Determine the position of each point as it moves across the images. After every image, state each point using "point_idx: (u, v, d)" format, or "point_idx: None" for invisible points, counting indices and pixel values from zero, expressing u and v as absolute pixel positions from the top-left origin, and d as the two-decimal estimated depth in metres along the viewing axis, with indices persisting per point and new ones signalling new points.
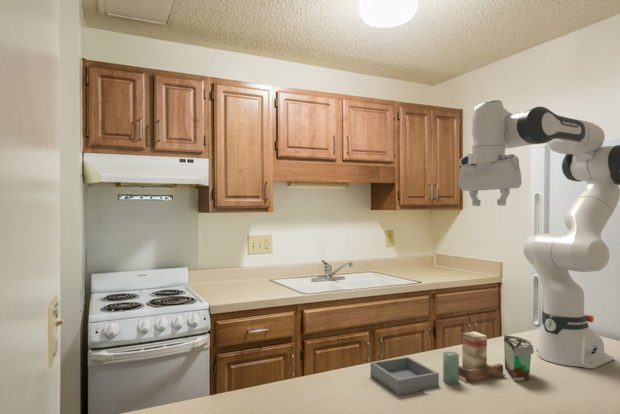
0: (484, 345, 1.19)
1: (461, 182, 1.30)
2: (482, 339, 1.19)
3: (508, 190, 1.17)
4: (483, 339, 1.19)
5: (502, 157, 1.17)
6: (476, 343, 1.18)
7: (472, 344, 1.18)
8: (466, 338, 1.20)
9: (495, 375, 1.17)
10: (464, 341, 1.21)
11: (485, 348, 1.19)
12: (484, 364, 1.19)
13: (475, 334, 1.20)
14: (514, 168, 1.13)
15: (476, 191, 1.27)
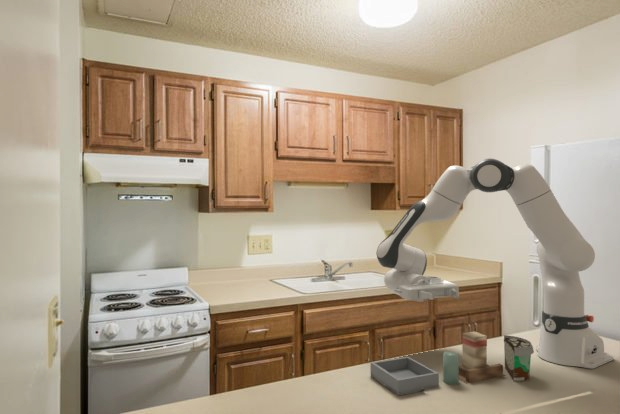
0: (484, 345, 1.19)
1: None
2: (482, 339, 1.19)
3: (419, 292, 1.33)
4: (483, 339, 1.19)
5: None
6: (476, 343, 1.18)
7: (472, 344, 1.18)
8: (466, 338, 1.20)
9: (495, 375, 1.17)
10: (464, 341, 1.21)
11: (485, 348, 1.19)
12: (484, 364, 1.19)
13: (475, 334, 1.20)
14: (400, 293, 1.37)
15: (449, 290, 1.37)
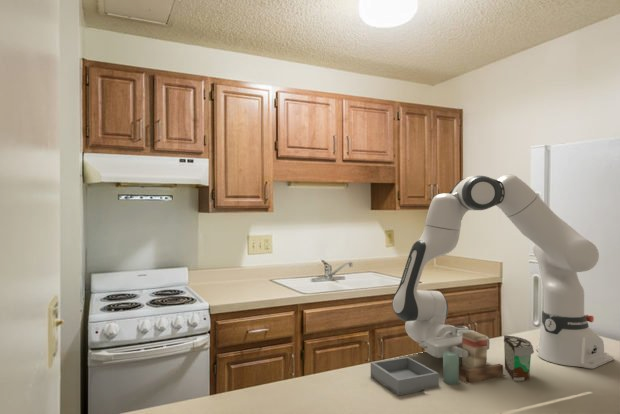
0: (484, 345, 1.19)
1: None
2: (482, 339, 1.19)
3: (452, 348, 1.21)
4: (483, 339, 1.19)
5: None
6: (476, 343, 1.18)
7: (472, 344, 1.18)
8: (466, 338, 1.20)
9: (495, 375, 1.17)
10: (464, 341, 1.21)
11: (485, 348, 1.19)
12: (484, 364, 1.19)
13: (475, 334, 1.20)
14: (426, 348, 1.25)
15: None
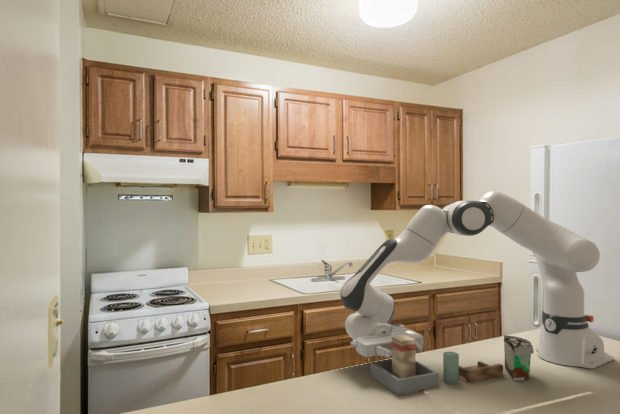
0: (412, 349, 1.15)
1: None
2: (410, 343, 1.14)
3: (376, 348, 1.17)
4: (412, 343, 1.14)
5: None
6: (404, 347, 1.14)
7: (400, 348, 1.14)
8: (395, 342, 1.16)
9: (495, 375, 1.17)
10: (393, 346, 1.17)
11: (414, 352, 1.15)
12: (413, 369, 1.15)
13: (404, 338, 1.16)
14: (356, 347, 1.21)
15: None
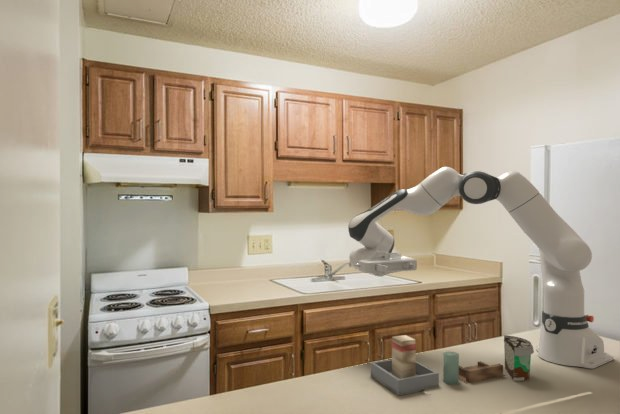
0: (412, 349, 1.15)
1: None
2: (410, 343, 1.14)
3: (376, 265, 1.37)
4: (412, 343, 1.14)
5: None
6: (404, 347, 1.14)
7: (400, 348, 1.14)
8: (395, 342, 1.16)
9: (495, 375, 1.17)
10: (393, 346, 1.17)
11: (414, 352, 1.15)
12: (413, 369, 1.15)
13: (404, 338, 1.16)
14: (359, 267, 1.42)
15: (406, 264, 1.42)
